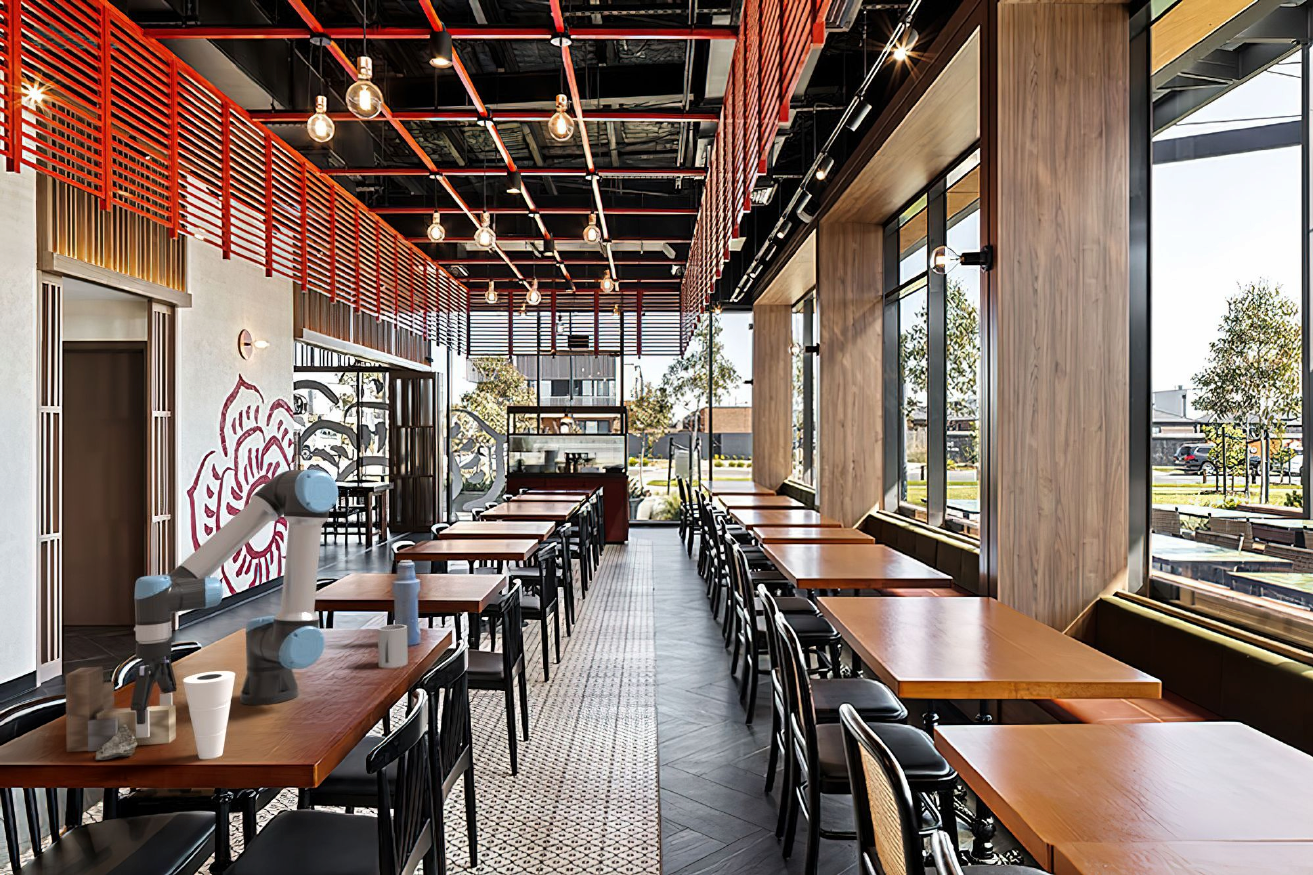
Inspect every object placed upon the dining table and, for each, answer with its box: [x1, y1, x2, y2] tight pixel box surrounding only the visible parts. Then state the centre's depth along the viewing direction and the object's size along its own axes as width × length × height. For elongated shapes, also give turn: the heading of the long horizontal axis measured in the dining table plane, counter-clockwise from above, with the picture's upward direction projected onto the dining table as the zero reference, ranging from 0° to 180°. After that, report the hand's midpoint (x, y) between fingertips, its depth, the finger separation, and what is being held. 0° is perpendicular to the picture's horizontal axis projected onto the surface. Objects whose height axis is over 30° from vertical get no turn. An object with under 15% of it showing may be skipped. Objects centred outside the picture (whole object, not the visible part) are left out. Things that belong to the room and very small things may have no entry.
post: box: [65, 666, 118, 753], centre depth 213 cm, size 11×17×18 cm, turn 9°
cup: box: [377, 624, 409, 669], centre depth 284 cm, size 9×9×12 cm
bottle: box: [391, 559, 422, 647], centre depth 314 cm, size 10×10×30 cm
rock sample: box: [94, 725, 138, 761], centre depth 202 cm, size 10×8×9 cm
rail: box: [94, 704, 177, 746], centre depth 211 cm, size 17×4×8 cm, turn 98°
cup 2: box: [182, 670, 236, 760], centre depth 200 cm, size 11×11×18 cm
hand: (154, 728), depth 211 cm, fingers open, 13 cm apart
